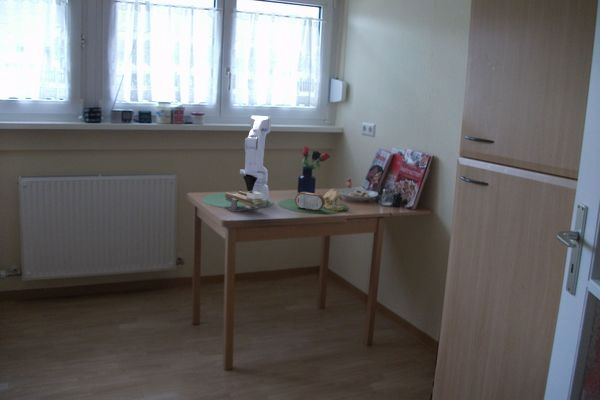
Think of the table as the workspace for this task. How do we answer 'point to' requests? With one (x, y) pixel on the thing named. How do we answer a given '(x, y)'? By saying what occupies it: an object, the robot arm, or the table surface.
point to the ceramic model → (333, 200)
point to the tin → (309, 201)
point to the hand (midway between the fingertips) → (249, 190)
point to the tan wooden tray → (245, 199)
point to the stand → (235, 208)
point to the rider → (254, 195)
